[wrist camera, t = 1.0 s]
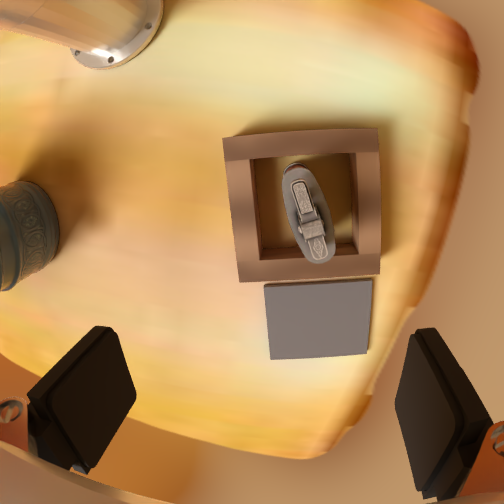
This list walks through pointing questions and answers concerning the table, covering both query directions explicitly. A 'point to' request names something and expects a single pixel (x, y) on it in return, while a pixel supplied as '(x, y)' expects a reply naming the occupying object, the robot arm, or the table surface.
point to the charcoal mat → (318, 318)
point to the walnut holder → (292, 258)
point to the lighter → (308, 213)
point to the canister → (25, 232)
